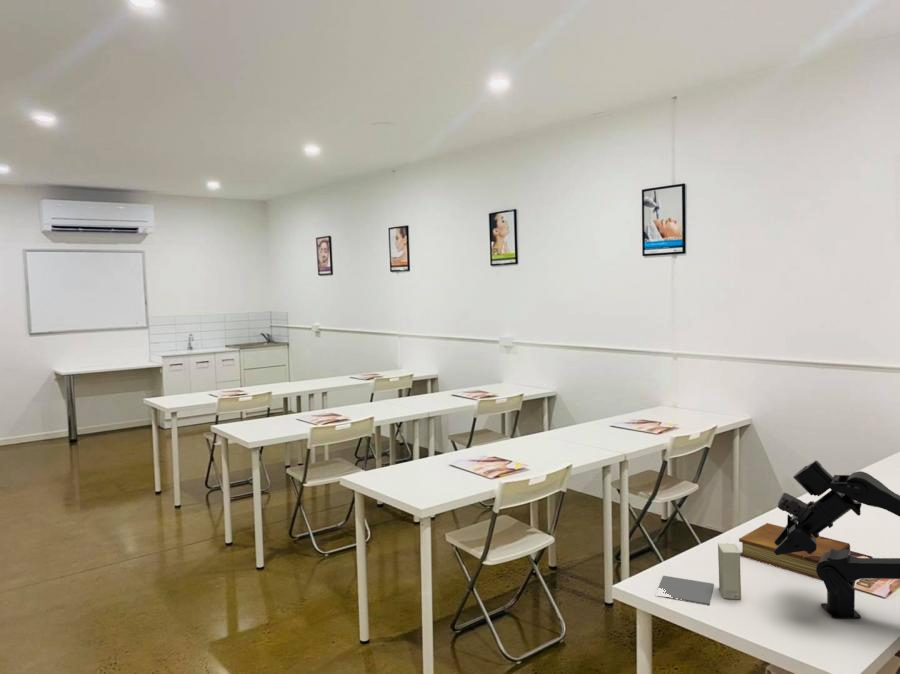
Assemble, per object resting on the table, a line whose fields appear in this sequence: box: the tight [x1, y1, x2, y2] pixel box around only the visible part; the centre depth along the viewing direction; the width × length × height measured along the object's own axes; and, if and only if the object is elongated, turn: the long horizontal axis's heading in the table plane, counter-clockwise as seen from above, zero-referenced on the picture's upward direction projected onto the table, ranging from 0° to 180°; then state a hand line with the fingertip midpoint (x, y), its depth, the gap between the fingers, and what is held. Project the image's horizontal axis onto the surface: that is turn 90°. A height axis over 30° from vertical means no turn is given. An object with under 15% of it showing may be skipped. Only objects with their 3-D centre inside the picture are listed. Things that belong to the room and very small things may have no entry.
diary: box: [738, 522, 851, 581], centre depth 189 cm, size 23×19×6 cm
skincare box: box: [717, 543, 742, 600], centre depth 169 cm, size 6×4×12 cm
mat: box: [657, 575, 715, 606], centre depth 172 cm, size 13×12×1 cm
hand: (775, 548), depth 163 cm, fingers open, 6 cm apart
